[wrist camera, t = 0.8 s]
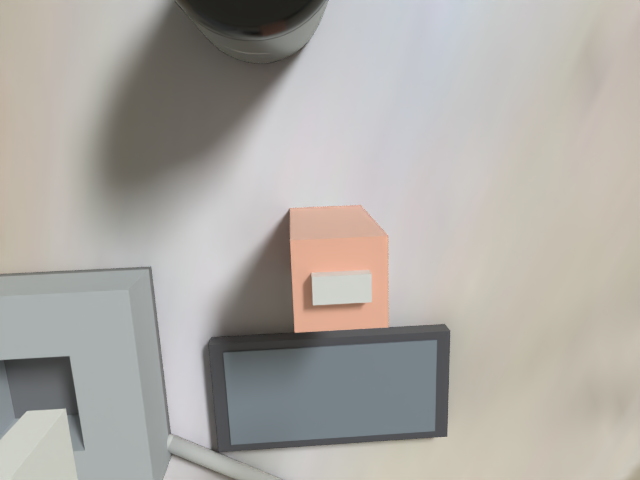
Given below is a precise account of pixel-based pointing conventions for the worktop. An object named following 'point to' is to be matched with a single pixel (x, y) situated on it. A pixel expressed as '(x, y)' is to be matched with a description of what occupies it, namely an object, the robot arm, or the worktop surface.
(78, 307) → the outlet plate
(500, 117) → the worktop surface
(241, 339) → the phone
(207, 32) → the supplement bottle
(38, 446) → the robot arm
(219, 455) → the cable
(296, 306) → the block
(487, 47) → the worktop surface
